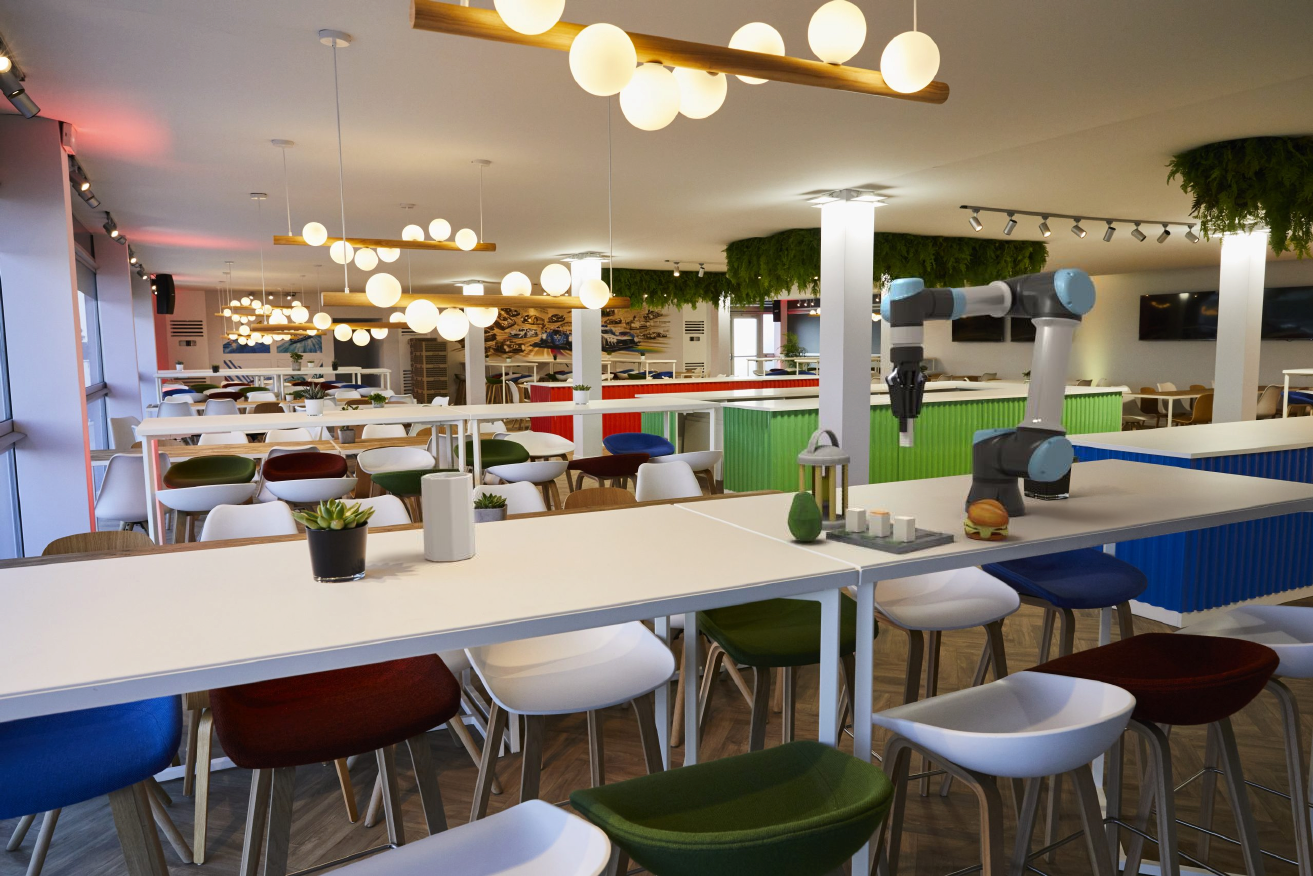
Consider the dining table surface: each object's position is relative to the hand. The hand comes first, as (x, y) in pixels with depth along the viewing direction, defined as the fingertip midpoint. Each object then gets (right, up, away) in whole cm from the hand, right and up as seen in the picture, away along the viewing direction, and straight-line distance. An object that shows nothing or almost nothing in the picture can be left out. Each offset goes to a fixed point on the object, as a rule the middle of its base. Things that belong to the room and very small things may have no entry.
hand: (906, 445), depth 195 cm
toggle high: (-3, -21, -9) cm, 23 cm away
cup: (-105, -25, -10) cm, 109 cm away
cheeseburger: (+19, -22, -1) cm, 29 cm away
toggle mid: (-7, -21, -4) cm, 22 cm away
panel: (-5, -22, -2) cm, 23 cm away
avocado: (-24, -23, -1) cm, 33 cm away
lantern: (-16, -21, +18) cm, 32 cm away
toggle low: (-12, -20, +2) cm, 23 cm away
